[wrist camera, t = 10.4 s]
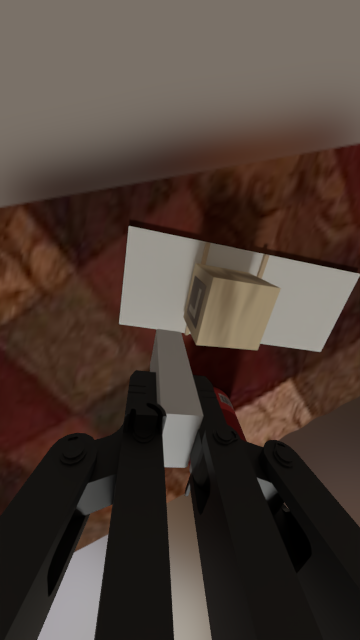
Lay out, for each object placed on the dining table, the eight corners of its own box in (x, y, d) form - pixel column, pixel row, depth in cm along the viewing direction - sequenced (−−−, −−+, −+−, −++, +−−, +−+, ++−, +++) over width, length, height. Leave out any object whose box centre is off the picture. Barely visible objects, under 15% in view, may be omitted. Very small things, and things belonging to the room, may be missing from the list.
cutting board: (119, 322, 29) (118, 325, 28) (129, 225, 25) (128, 225, 24) (317, 349, 34) (322, 353, 33) (356, 273, 30) (363, 274, 29)
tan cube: (195, 344, 22) (257, 350, 24) (212, 277, 20) (281, 288, 21) (182, 317, 29) (233, 322, 30) (194, 262, 26) (248, 272, 28)
